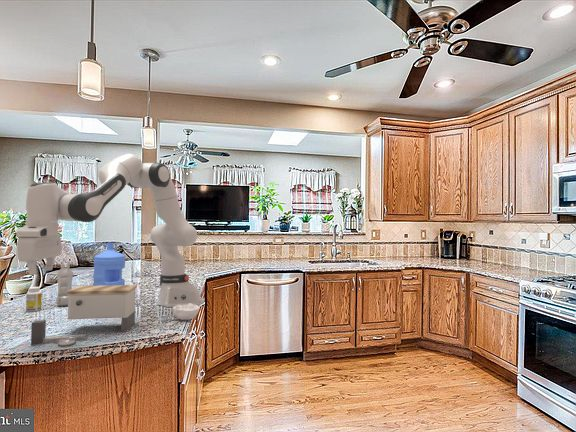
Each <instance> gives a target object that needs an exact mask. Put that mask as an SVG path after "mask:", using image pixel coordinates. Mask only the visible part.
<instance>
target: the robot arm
mask: <svg viewBox="0 0 576 432" xmlns="http://www.w3.org/2000/svg"><path fill="white" fill-rule="evenodd" d="M97 175H98V180H99V182H100V185H99V186H98V187H96V188H95V189H94V190H93V191H90V192H82V193H70V192H68V191H66V190H65V189H63V188H61V187H60V186H59V185H58V184H57V183H56V182H54V181H52V182H51V181H49V182H36V183H35V182H34V183H31V185H29V187H28V188H27V194H26V199H25V201H26V202H25V209H26V213H27V215H26V219H25V224H24V226H21V228H19V229H17V230H16V237H17V238H18V239H17V242H16V257H17V260H18V261H19V262H21V263H23V262H24V263H25V262H26V266H27V269H28V276H34V275H37V274H38V272H39V271H38V268H37V266H36V265H37V261H38V260H40V261H41V260H44V259H45V260H46V262H45V265H44V270H45V271H46V272H49V271H52V270H53V265H54V263H55V260H56V257H59V256H61V255H62V238H61V236H60V234H59V221H63V222H67V221H69V222H81V223H91V222H95V221H96V220H97V219H98V218H99V217H101V215H102V213H103V211H104V209H105V208H106V207H107V205H108V204H110V202H112V200H113V199H114V198H116V196H118V195H119V194H120V193H121V192H122V191H123V190H124V188H125V187H126V186H128V187H130V188H134V189H150V190H151V194H152V199H153V204H154V209H155V212H156V215H157V217H158V218H159V219H160V220H162V221H163V222H164V223H163V224H158V225H155V226H153V227H152V229H151V231H150V239H151V242H152V243H153V244H154V245H155V246H156V247H157V250H158V252H159V255H160V261H161V262H160V263H161V265H160V266H161V268H160V270H161V272H160V277H159V285H160V288H159V295H158V300H157V303H156V304H157V305H158V306H162V307H165V308H173V307H174V306H177V305H188V304H189V303H191V304H193V305H197V306H201V305H203V304H204V303H205V298H204V297H201V293H200V290H199V288H198V287H197V286H196V285H194V284H193V283H192V282H190V281H189V280H190V276H189V274H187V273H185V271H186V269H185V266H186V259H185V257H184V256H183V255H182V254H181V253H180V251H179V249H178V248H179V247H182V248H184V247H189V246H192V245H194V244H195V243H196V242H197V239H198V232H197V229H196V228H195V227H194V226H193V225H191V224H190V223H189V222H188V220H187V219H186V218H185V216H184V214H183V213H182V209H181V207H180V203H179V198H178V193H177V191H176V187H175V184H174V181H173V180H172V179H173V178H171V172H170V169H169V167H168V166H167V165H166V164H165V163H162V162H144V163H142V159H140V158H139V157H138V156H137V155H136V154H133V153H124V154H122V155H118V156H117V157H115V158H113V159H111V160H109V161H108V162H106V163H105V164H104V165H102V166H101V168H100V169H99V170H98V174H97Z"/></svg>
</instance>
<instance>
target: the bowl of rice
mask: <svg viewBox="0 0 576 432" xmlns="http://www.w3.org/2000/svg"><path fill="white" fill-rule="evenodd" d="M200 307H201V305H193V304H191V303H189V304H188V305H177V306H174V307H172V315H173V316H174V317H175V318H176V319H179V320H180V321H190V320H193V319H195V317H196V316H197V315H198V313H199V310H200V309H201V308H200Z"/></svg>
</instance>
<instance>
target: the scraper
mask: <svg viewBox="0 0 576 432" xmlns="http://www.w3.org/2000/svg"><path fill="white" fill-rule="evenodd" d="M46 323H47V320H46V319H40V320H39V319H38V320H34V321H33V322H31V327H30V329H31V330H30V334H31V335H30V346H34V345H35V346H36V345H43V344H42V343H44V344H53V342H56V343H58V341H59V340H60V339H63V338H69V337H74V338H76V342H80V341H87V339H88V334H87V333H86V334H73V335H57V336H56V335H55V336H46V333H47V332H46V327H47V325H46Z"/></svg>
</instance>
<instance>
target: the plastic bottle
mask: <svg viewBox="0 0 576 432" xmlns="http://www.w3.org/2000/svg"><path fill="white" fill-rule="evenodd" d="M73 276H74V273H73V271H72V269H71V262H62V263H60V269H59V270H58V272H57V273H56V278H57V294H56V300H55V301H56V306H59V307H60V306H61V307H66V306H67V307H68V294H66V291H69V290H71V289H72V285H73V284H72V283H73V278H74V277H73Z"/></svg>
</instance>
